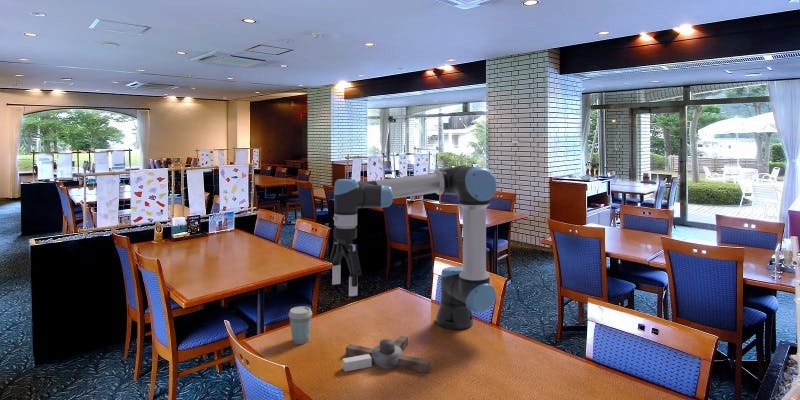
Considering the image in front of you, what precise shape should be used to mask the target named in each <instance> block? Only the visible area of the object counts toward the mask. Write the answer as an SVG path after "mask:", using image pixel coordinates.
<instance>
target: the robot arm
mask: <svg viewBox="0 0 800 400" xmlns="http://www.w3.org/2000/svg"><path fill="white" fill-rule="evenodd" d="M496 191H497V179H496V178H495V176H494V174H493V173H492V172H491V171H490V170H488V169H486V168H483V167H480V166H465V165H458V166H451V167H449V168H448V167H447V168H443V169H442V168H441V169H437V170H434V172H433V173H425V174H418V175H409V176H401V177H393V178H385V179H377V180H370V181H363V180H359V181H358V180H357V179H351V178H340V179H336V180H335V182H334V190H333V203H334V206H333V207H334V208H333V209H334V212H333V217H332V219H333V222H334V223H333V225H334V228H333V243H332V244H333V245H332V248H331V253H330V256H329V262H330V263H331V265H332V270H331V271H332V273H331V274H332V278H331V279H332V281H331V284H332V285H340V284H341V271H342V270H341V269H342V268H341V267H342V266H341V265H342V263H341V262H342V260H343V258H344V259H345V261H346V264H347V268H348V270H349V275H348V297H355V296H356V297H357V296H358V289H359V288H358V286H359V284H358V281H359V276H362V274H363V273H362V268H361V263H360V257H359V251H358V244H357V243H355V244H353V240H356V239H357V237H358V228H357V226H358V209H369V208H370V209H374V208H376V209H379V208H380V209H383V208H389V207H391V205H392V203H393V201H394V200H393V199H399V198H406V197H407V198H408V197H414V196H421V195H429V194H430V195H431V194H436V195H438V196H440V195H452V196H458V205H459V206H460V207H461V209H462V266H449V267H445V268H442V271H441V276H440V281H441V282H440V304H439V307H438V310H437V313H436V317H435V322H436V324H437V325H438V326H440V327H442V328H445V329H449V330H464V329H468V328H471V327H472V326H473V324H474V317H473V312H474V313H477V314H478V313H484V312H487V311H488V310H489V309H491V307H492V306H493V305H494V303H495V301H496V297H497V291H496V288H495V287H494V286H493V285H492V284H491V275H490V273H489V272H488V271H487V208H488V207H489V206H490V205H491V199H492V198H493V197H494V195H495V194H496Z"/></svg>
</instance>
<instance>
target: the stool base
mask: <svg viewBox="0 0 800 400" xmlns="http://www.w3.org/2000/svg"><path fill="white" fill-rule="evenodd" d="M408 345H409V337H408V336H403V335H400V336H399V337H398V338H397V339H395V340H393V339H390V338H389V339H388V338H387V339H381V340H380V341H379V345H377V346H375V347H374V348H372V347H371V348H370V347H367V346H361V345H356V344H352V343H349V344H348V345H347V346H346V347H345V357H348V358H349V357H355V356H360V355H366V354H369V355H370V356H371V358H372V366H374V367H375V368H377V369H379V370H385V371H386V370H387V371H388V370H395V369H397V368H401V369H405V370H411V371H414V372H420V373H424V374H429V373H430V371H431V370H432V360H430V359H425V358H421V357H415V356H410V355H405V354H403V351H404V350H405V349H406V348H407V346H408Z"/></svg>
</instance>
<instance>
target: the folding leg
mask: <svg viewBox="0 0 800 400" xmlns="http://www.w3.org/2000/svg"><path fill="white" fill-rule="evenodd" d="M371 367H373V364H372V358H371V356H370V355H369V354H366V355H360V356H355V357H349V356H348V357H345V358H342V369H343V371H344V372H351V371H355V370H361V369H366V368H371Z"/></svg>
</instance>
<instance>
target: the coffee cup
mask: <svg viewBox="0 0 800 400" xmlns="http://www.w3.org/2000/svg"><path fill="white" fill-rule="evenodd" d="M312 316H313V311H312V308H310V307H308V306H303V305H302V306H300V305H299V306H295V307H292V308H290V310H289V312H288V317H289V322H290V323H289V324H290V331H291V338H292V339H291V340H292V343H294V344H295V345H305V344H307V343H309V341H310V335H311V334H310V332H311V325H312V324H311V323H312V322H311V321H312Z"/></svg>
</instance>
